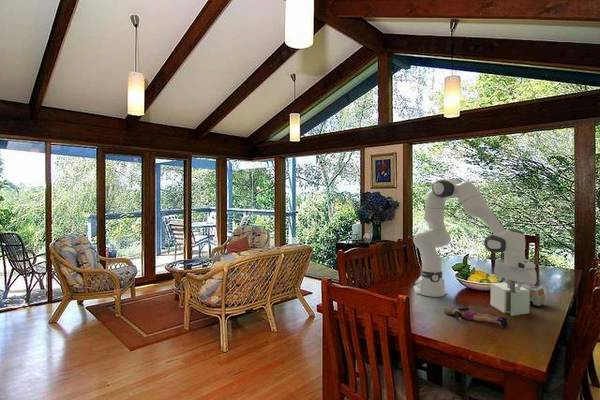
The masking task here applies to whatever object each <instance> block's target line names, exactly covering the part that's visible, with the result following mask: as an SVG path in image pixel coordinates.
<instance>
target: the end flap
mask: <svg viewBox="0 0 600 400" xmlns="http://www.w3.org/2000/svg"><path fill="white" fill-rule="evenodd" d="M515 283H516V281H510V291H509V292H511V313H510V316H511V317H513V316H520V315H526V314H528V315H529V314H530V308H531V306H530V290H526V291H518V292H516V291H515Z"/></svg>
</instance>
